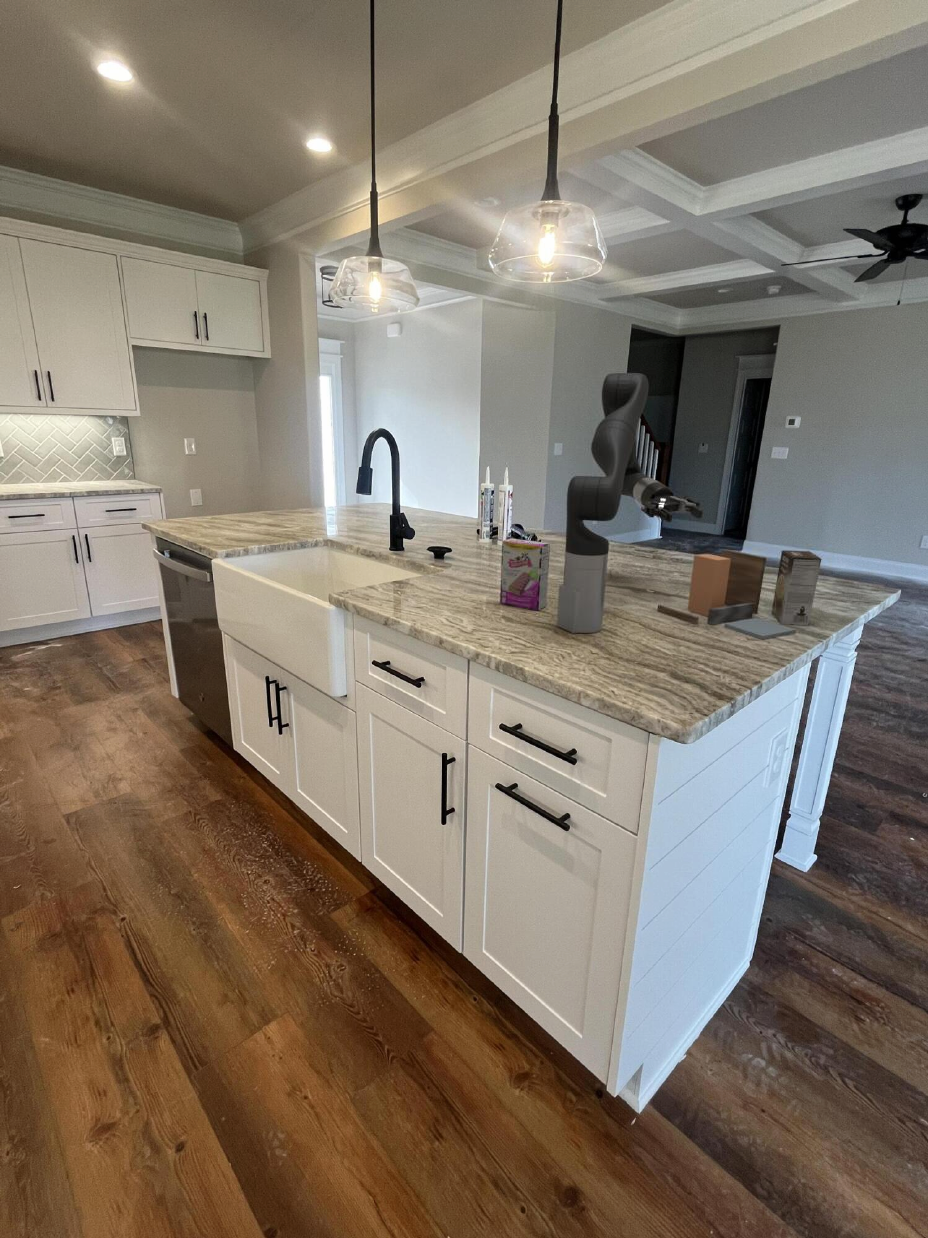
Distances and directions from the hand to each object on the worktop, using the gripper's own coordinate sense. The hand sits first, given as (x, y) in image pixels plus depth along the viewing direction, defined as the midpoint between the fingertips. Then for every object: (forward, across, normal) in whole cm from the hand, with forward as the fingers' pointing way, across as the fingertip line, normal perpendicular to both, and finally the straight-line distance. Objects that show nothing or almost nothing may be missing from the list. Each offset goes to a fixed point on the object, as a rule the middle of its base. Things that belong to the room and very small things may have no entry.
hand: (685, 516), depth 153 cm
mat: (+30, +3, +16) cm, 34 cm away
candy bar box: (0, -43, +20) cm, 47 cm away
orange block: (+15, 0, +19) cm, 25 cm away
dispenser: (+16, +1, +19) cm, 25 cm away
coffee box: (+25, +16, +19) cm, 35 cm away
